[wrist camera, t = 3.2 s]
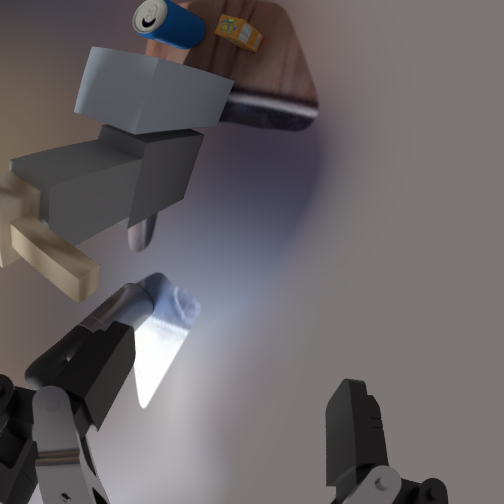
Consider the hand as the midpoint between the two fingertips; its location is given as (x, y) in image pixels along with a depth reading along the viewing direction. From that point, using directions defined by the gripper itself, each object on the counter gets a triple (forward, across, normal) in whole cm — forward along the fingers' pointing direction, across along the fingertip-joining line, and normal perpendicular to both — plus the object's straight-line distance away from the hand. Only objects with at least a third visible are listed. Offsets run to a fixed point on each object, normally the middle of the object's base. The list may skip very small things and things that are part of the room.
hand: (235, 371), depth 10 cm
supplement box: (+40, -9, +19) cm, 45 cm away
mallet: (+11, -19, -4) cm, 22 cm away
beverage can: (+42, -20, +20) cm, 51 cm away
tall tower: (+42, -18, -3) cm, 46 cm away
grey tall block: (+41, -16, +9) cm, 45 cm away
